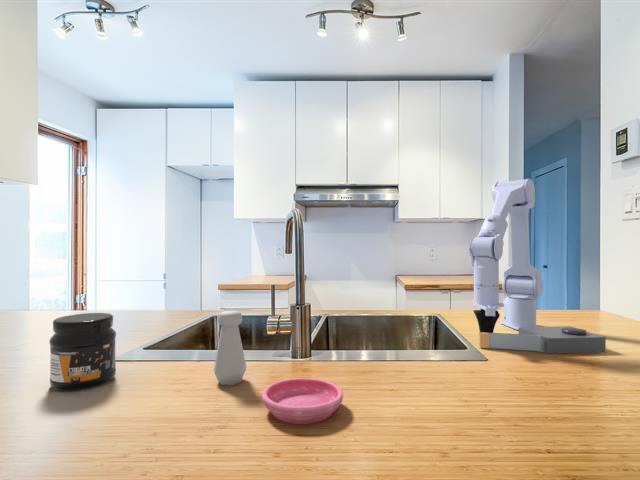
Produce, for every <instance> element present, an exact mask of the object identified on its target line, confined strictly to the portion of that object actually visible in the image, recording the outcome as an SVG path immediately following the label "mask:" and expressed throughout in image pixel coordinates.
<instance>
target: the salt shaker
mask: <svg viewBox="0 0 640 480" xmlns="http://www.w3.org/2000/svg"><path fill="white" fill-rule="evenodd" d="M217 322H218V324H219V325H220V334H219V338H218V344H217V348H216V349H217V350H216V355H215V361H214V367H213V373H214V374H215V378H216V380H217V382H218V383H219V384H220V385H221V386H235V385H237V384H241V383H242V380H243V378H244V375H245V373H246V371H247V364H246V359H245V354H244V348H243V342H242V338H241V333H240V327H239V325H241V323H242V322H243V315H242V313H241V312H240V311H239V310H232V309H231V310H223V311H221V312H220V313H219V314H218V317H217Z"/></svg>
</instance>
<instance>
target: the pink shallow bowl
mask: <svg viewBox="0 0 640 480" xmlns="http://www.w3.org/2000/svg"><path fill="white" fill-rule="evenodd" d="M343 399H344V392H343V389H342V388H341V386H339V385H337V384H336V383H333V382H331V381H329V380H325V379H324V380H323V379H319V378H314V377H313V378H312V377H293V378H286V379H282V380H278V381H275V382H273V383H271V384H269V385H267V386H266V387H265V388H264V389H263V390H262V393H261V400H262V404H263V405H264V406H265V408H266V410H268V411H269V412H270V413H271V414H272V415H273V417H274V418H275V419H277V420H279V421H281V422H283V423H287V424H293V425H309V424H314V423H315V424H316V423H320V422H323V421H325V420H327V419H328V418H330V417H331V416H332V415H333V413H334V412H335V411H336V410H337V409H338V408H339V406H340V405H341V404H342V402H343Z"/></svg>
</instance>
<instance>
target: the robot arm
mask: <svg viewBox="0 0 640 480" xmlns="http://www.w3.org/2000/svg"><path fill="white" fill-rule="evenodd" d="M535 189H536V186H535V185H534V182H533V180H532V178H531V179H530V178H526V179H518V180H517V179H516V180H508V181H507V180H505V181H495V182H494V184H493V185H492V188H491V195H492V197H491V198H492V200H493V202H494V203H493V206H492V212H491V215H488V216H486V217H485V219H484V221H483V223H482V225H481V228H480V231H479V233H478V235H477V236H475V237H474V238H473V239H471V240H470V244H469V247H468V251H469V257H470V260H471V262H470V263H471V266H472V267H473V302H472V305H473V307H475V308H479V309H476V310H473V313H474V315H475V317H476V321H477V323H478V328H479V332H488V333H494V331H495V326H496V324H497V322H498V319H499V318H500V315H501V314H500V313H499V310H497V309H499V308H500V307H502V321H500V324H501V325H504V326H506V327H509V328H511V329H514V330H516V331H519V327H540V326H538V325H537V299H538V298H540V297H541V296H542V294H543V291H544V282H543V279H542V272H541V270H539V269H538V268H536V267H535V266H533V265H532V264H531V258H530V253H531V252H530V223H529V213H530V212H529V211H530V210H531V208H534V207H535V203H536V190H535ZM508 215H509V216H510V217H509V222H510V247H511V249H510V250H511V265H509V267H507V268H506V269H505V270H504V271H503V272H502V273H503V274H502V275H503V278H502V283H501V287H502V291H503V293H504V294H505V295H506V297H505V299H504V300H503V302H500V299H499V298H500V296H499V295H500V291H499V290H500V287H499V286H500V285H499V282H500V280H499V279H500V277H499V275H500V274H499V272H500V270H499V269H500V267H499V266H500V263H499V261H500V260H501V259H502V257H503V253H504V244H505V242H504V236H505V234H506V232H507V229H508V221H507V218H508Z"/></svg>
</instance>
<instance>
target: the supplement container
mask: <svg viewBox="0 0 640 480" xmlns="http://www.w3.org/2000/svg"><path fill="white" fill-rule="evenodd" d="M112 326H114V315H113V314H111V313H107V312H89V313H87V312H86V313H78V314H70V315H65V316H64V315H63V316H61V317H57V318H55V319H53V321H52V332H53V333H54V334H53V335H52V336H51V337H50V339H49V346H50V347H49V349H50V351H49V352H50V354H49V357H50V363H49V364H50V366H49V369H50V370H49V371H50V373H49V374H50V377H49V384H50V386H51V387H52V388H53V389H55V390H58V391H61V392H76V391H84V390H89V389H94V388H96V387H100V386H102V385H105V384H107V383H109V382H110V381H111V380H113V378H114V377H115V376H116V373H117V368H116V339H117V332H116V331H115V330H114V328H113V327H112Z"/></svg>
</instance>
